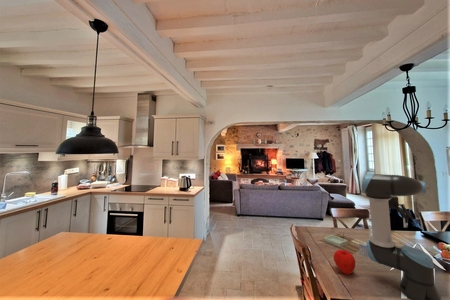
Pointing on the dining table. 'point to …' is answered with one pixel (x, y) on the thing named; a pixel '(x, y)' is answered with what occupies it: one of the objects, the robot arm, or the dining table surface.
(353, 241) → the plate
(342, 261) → the apple
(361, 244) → the medicine box
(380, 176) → the robot arm
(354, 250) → the bench board
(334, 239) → the tray
